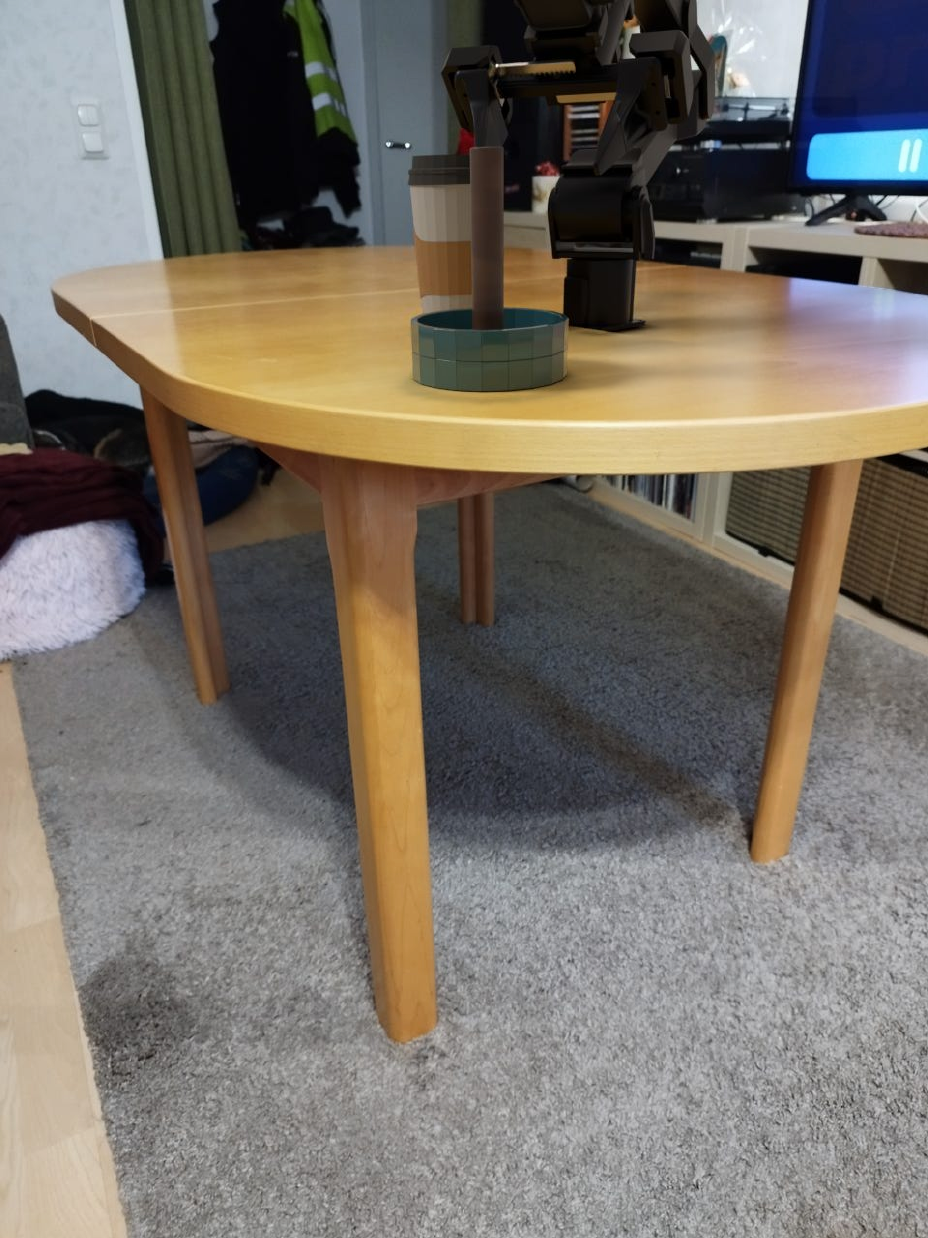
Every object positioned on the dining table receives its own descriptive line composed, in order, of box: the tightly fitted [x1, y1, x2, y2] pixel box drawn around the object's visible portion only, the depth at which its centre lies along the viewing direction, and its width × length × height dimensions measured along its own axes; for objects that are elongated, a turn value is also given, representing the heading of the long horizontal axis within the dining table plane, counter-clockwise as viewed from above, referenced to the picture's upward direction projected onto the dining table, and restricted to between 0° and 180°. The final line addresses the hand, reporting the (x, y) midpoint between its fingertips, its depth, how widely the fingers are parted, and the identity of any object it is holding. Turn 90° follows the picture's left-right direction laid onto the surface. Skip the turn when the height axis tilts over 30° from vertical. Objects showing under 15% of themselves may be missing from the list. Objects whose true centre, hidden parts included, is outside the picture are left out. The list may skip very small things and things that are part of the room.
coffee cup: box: [407, 153, 472, 314], centre depth 82 cm, size 8×8×15 cm
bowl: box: [410, 306, 569, 392], centre depth 63 cm, size 11×11×4 cm
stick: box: [469, 146, 505, 330], centre depth 61 cm, size 4×4×14 cm
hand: (536, 171), depth 66 cm, fingers open, 9 cm apart
